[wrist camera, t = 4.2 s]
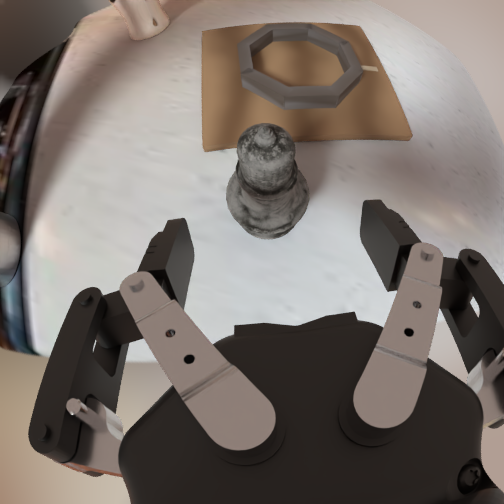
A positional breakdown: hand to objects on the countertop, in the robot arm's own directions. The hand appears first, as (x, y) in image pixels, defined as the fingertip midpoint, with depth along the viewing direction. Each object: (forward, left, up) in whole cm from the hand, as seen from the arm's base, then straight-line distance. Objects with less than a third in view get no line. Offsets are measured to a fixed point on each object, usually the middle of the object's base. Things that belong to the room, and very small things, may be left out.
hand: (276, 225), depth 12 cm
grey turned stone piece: (0, +4, -10) cm, 11 cm away
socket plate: (+5, +19, -10) cm, 22 cm away
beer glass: (-13, +34, -10) cm, 38 cm away
